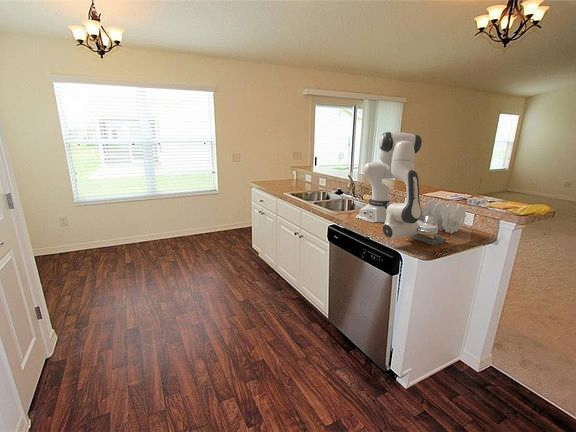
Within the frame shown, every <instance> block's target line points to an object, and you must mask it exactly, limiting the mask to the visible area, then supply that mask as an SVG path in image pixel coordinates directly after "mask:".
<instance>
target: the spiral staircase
mask: <svg viewBox="0 0 576 432" xmlns="http://www.w3.org/2000/svg"><path fill="white" fill-rule="evenodd" d="M420 207H421V217H420V219H419V221H420V220H422V221H423V222H424V223H425V217H426V216H433V217H434V218H433V225H437V226H438V231H440V232H443V231H444V230H445V231H444V232H445V233H449V234H450V235H452V234H454V233H457V232H458V230H459V228H462V227H463V225H464V224H465V219H466V218H467V213H466V211H467V209H466V208H465V205H461V206H460V205H458V206H457V207H456V206H455V204H451V203H449V204H448V205H447V203H445V202H444V201H443V200H441V201H438V202H437V201H436V199H432V200H431V199H430V200H429V201H427V203H426V204H425V206H424V205H423V206H420Z"/></svg>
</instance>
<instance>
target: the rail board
mask: <svg viewBox="0 0 576 432" xmlns="http://www.w3.org/2000/svg"><path fill="white" fill-rule="evenodd" d="M409 237H410V238H413V239H414V240H415V239H416V240H418V241H420V242H422V243H425V244H428V245H430V246H435V245H440V244H445V243H446V241H447V239H446V238H444V237H441V240H438V241H437V240H436V238H435V239H431V238H428V237H425V236H423V235H420V234H416V235H412V236H409Z"/></svg>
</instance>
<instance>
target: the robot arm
mask: <svg viewBox="0 0 576 432" xmlns="http://www.w3.org/2000/svg"><path fill="white" fill-rule="evenodd" d="M378 141H379V142H378V146H379V149H380V152H379V159H380V161H371V162H367V163H365V164H364V165H363V167H362V174H363V176H364V178H366V180H368V181H369V183H370V185H371V198H370V199H367V202H368V204H366V205H365V206H363V207H361V208H360V210H359V214H356V215H355V218H356V219H358V218H359V220H361V219H362V220H361V221H365V222H369V223H384V224H383V225H382V233H383V235H384V236H386V237H387V238H389V239H400V238H403V237H410V236H412V235H416V234H417V233H418V232H420V233H423V234H426V235H432V234H434V235H438V233H439V229H438V226H437V225H430V224H427V223H424V222H423V221H422V220H420V221H419V219H420V217H421V207H422V206H421V201H420V179H419V174H418V173H417V171H416V170H415V154H417V153H418V152H419V151H420V150H421V147H422V145H423V142H422V141H423V139H422V137H421V135H418V134H416V133H409V132H400V131H392V132H391V131H386V132H383V133H382V134H381V136H380V138H379V140H378ZM385 179H386V180H393V179H397V180H399V181H401V182H403V183H404V184H405V186H406V187H405V188H406V189H405V190H406V202H392V203H390V191H391V190H390V187H389V186H388V185H387V184H385V183H383V180H385Z"/></svg>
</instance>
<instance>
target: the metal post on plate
mask: <svg viewBox="0 0 576 432" xmlns="http://www.w3.org/2000/svg"><path fill="white" fill-rule="evenodd" d="M433 218H434V217H433V216H426V217H425V223H427V224H430V225H433ZM417 234H420V235H423V236H425V237H428V238H431V239H435V238H436V237H434V236H433V235H435V234H432V235H426V234H423V233H420V232H418V233H417Z"/></svg>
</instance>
